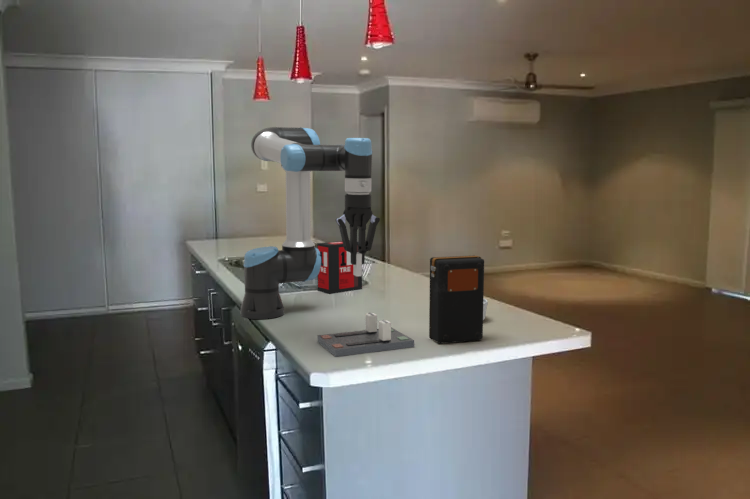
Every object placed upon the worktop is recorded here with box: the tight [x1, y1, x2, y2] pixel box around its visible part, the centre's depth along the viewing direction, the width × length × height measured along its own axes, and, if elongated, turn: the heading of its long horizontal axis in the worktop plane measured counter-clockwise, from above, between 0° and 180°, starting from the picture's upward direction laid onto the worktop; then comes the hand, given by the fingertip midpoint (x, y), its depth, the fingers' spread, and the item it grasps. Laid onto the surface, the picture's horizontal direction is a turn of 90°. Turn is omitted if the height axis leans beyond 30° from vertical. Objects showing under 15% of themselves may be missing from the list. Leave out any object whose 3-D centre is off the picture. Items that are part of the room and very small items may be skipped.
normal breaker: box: [364, 312, 378, 332], centre depth 190 cm, size 3×2×5 cm
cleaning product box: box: [316, 239, 363, 295], centre depth 265 cm, size 16×9×20 cm, turn 129°
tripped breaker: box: [378, 319, 392, 341], centre depth 181 cm, size 3×2×5 cm
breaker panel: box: [316, 326, 415, 358], centre depth 185 cm, size 16×24×2 cm, turn 113°
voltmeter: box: [428, 254, 485, 344], centre depth 188 cm, size 16×9×25 cm, turn 107°
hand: (357, 275), depth 182 cm, fingers closed
